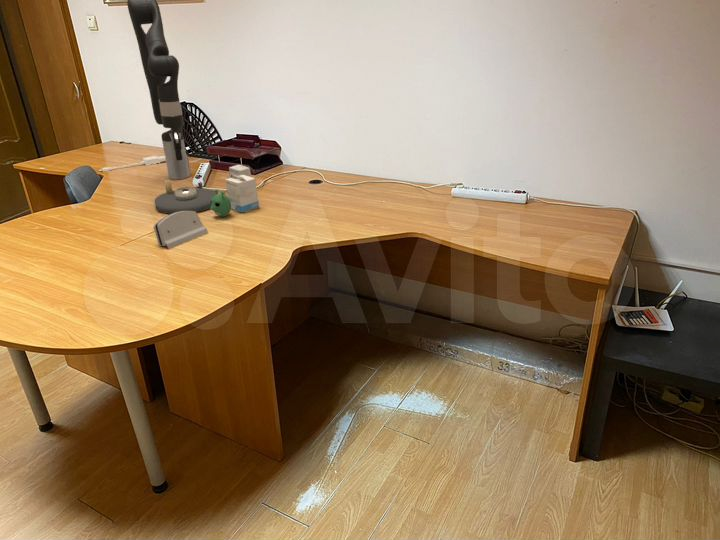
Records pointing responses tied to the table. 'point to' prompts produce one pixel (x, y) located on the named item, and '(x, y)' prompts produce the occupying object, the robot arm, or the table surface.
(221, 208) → the alien toy
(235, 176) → the ink box
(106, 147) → the table surface
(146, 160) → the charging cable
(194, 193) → the cover
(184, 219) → the grey curved-top upright plate
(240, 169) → the ink box
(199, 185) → the index post
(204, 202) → the turntable
